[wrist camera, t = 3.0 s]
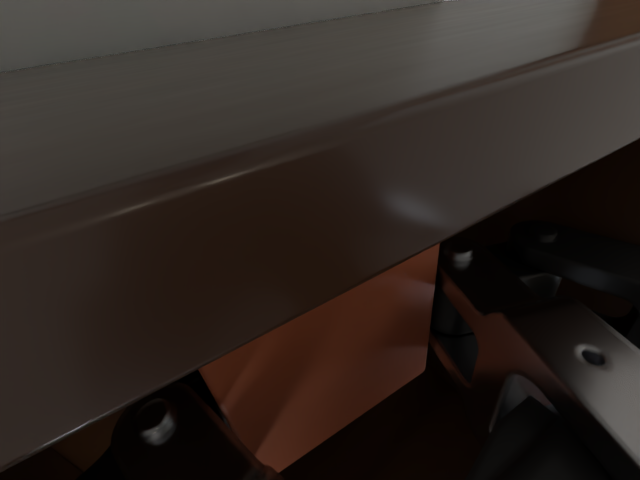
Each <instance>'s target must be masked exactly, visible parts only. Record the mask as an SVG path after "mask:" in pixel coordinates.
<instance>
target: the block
mask: <svg viewBox="0 0 640 480" xmlns="http://www.w3.org/2000/svg"><path fill="white" fill-rule="evenodd" d="M439 247H440V243H439V244H437V245H435V246H433V247H431V248H429V249H428V250H426V251H424V252H422V253H420V254H418V255H416V256H414V257H412V258H410V259H408V260H406V261H405V262H403V263H401V264H399V265H397V266H395V267H393V268H391V269H389V270H387V271H385V272H384V273H382V274H380V275H378V276H376V277H374V278H372V279H370V280H368V281H366V282H364V283H362V284H361V285H359V286H357V287H355V288H353V289H351V290H349V291H347V292H345V293H343V294H341V295H339V296H338V297H336V298H334V299H332V300H330V301H328V302H326V303H324V304H322V305H320V306H318V307H317V308H315V309H313V310H311V311H309V312H307V313H305V314H303V315H301V316H299V317H297V318H295V319H294V320H292V321H290V322H288V323H286V324H284V325H282V326H280V327H278V328H276V329H274V330H272V331H271V332H269V333H267V334H265V335H263V336H261V337H259V338H257V339H255V340H253V341H251V342H250V343H248V344H246V345H244V346H242V347H240V348H238V349H236V350H234V351H232V352H230V353H228V354H227V355H225V356H223V357H221V358H219V359H217V360H215V361H213V362H211V363H209V364H207V365H205V366H204V367H202V368H200V369H198V370H199V372H200V374H201V376H202V378H203V379H204V381H205V383H206V385H207V387H208V388H209V390H210V392H211V394H212V396H213V397H214V399H215V401H216V403H217V405H218V406H219V408H220V410H221V412H222V414H223V416H224V417H225V419H226V421H227V423H228V425H229V426H230V428H231V430H232V432H233V433H234V434H235V435H236V436H237V437H238V438H239V439H240V441H241V442H242V443H243V444H244V445H245V446H246V447H247V448H248V449H249V450H250V451H251V452H252V453H253V455H254V456H255V457H256V458H257V459H258V460H259V461H260V462H262V463H263V464H264V465H269V466H271V467H272V468H273V469H275V470H276V471H277V472H278V473H279V472H281V471H282V470H283V469H285V468H286V467H288V466H289V465H291V464H292V463H293V462H295V461H296V460H298V459H299V458H301V457H302V456H303V455H305V454H306V453H308V452H309V451H311V450H312V449H314V448H315V447H316V446H318V445H319V444H321V443H322V442H324V441H325V440H326V439H328V438H329V437H331V436H332V435H334V434H335V433H336V432H338V431H339V430H341V429H342V428H344V427H345V426H346V425H348V424H349V423H351V422H352V421H354V420H355V419H357V418H358V417H359V416H361V415H362V414H364V413H365V412H367V411H368V410H369V409H371V408H372V407H374V406H375V405H377V404H378V403H379V402H381V401H382V400H384V399H385V398H387V397H388V396H389V395H391V394H392V393H394V392H395V391H397V390H398V389H399V388H401V387H402V386H404V385H405V384H407V383H408V382H410V381H411V380H412V379H414V378H415V377H417V376H418V375H420V374H421V373H422V372H424V370H425V367H426V358H427V349H428V341H429V332H430V324H431V315H432V307H433V298H434V290H435V281H436V272H437V264H438V255H439Z"/></svg>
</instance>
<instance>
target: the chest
mask: <svg viewBox="0 0 640 480" xmlns="http://www.w3.org/2000/svg"><path fill="white" fill-rule="evenodd" d="M528 220H538V221H546V222H550V223H554V224H558V225H562V226H566V227H570V228H573V229H577V230H581V231H585V232H589V233H593V234H596V235H600V236H604V237H608V238H612V239H616V240H620V241H623V242H627V243H631V244H635V245H639V246H640V0H451V1H443V2H437V3H431V4H424V5H418V6H412V7H406V8H400V9H393V10H387V11H381V12H375V13H368V14H362V15H356V16H350V17H343V18H337V19H331V20H325V21H318V22H312V23H306V24H300V25H294V26H287V27H281V28H275V29H269V30H262V31H256V32H250V33H244V34H237V35H231V36H225V37H219V38H212V39H206V40H200V41H194V42H188V43H181V44H175V45H169V46H163V47H156V48H150V49H144V50H138V51H131V52H125V53H119V54H113V55H106V56H100V57H94V58H88V59H82V60H75V61H69V62H63V63H57V64H50V65H44V66H38V67H32V68H25V69H19V70H13V71H7V72H0V480H76V479H77V478H78V477H79V476H80V475H81V474H82V473H84V472H85V471H86V470H87V469H88V468H89V467H90V466H92V465H93V464H94V463H95V462H96V461H97V460H98V459H99V458H100V457H101V456H102V455H103V453H104V452H105V451H106V450H107V449H108V448H109V446H110V445H111V436H112V433H113V429H114V427H115V425H116V422H117V421H118V419H119V417H120V415H121V414H122V413H123V411H124V410H125V409H126V407H127V406H129V405H131V404H133V403H135V402H137V401H138V400H140V399H142V398H144V397H146V396H148V395H150V394H152V393H154V392H156V391H158V390H160V389H161V388H163V387H165V386H167V385H169V384H171V383H173V382H175V381H177V380H179V379H181V378H183V377H184V376H186V375H188V374H190V373H192V372H194V371H196V370H198V369H200V368H202V367H204V366H205V365H207V364H209V363H211V362H213V361H215V360H217V359H219V358H221V357H223V356H225V355H227V354H228V353H230V352H232V351H234V350H236V349H238V348H240V347H242V346H244V345H246V344H248V343H250V342H251V341H253V340H255V339H257V338H259V337H261V336H263V335H265V334H267V333H269V332H271V331H272V330H274V329H276V328H278V327H280V326H282V325H284V324H286V323H288V322H290V321H292V320H294V319H295V318H297V317H299V316H301V315H303V314H305V313H307V312H309V311H311V310H313V309H315V308H317V307H318V306H320V305H322V304H324V303H326V302H328V301H330V300H332V299H334V298H336V297H338V296H339V295H341V294H343V293H345V292H347V291H349V290H351V289H353V288H355V287H357V286H359V285H361V284H362V283H364V282H366V281H368V280H370V279H372V278H374V277H376V276H378V275H380V274H382V273H384V272H385V271H387V270H389V269H391V268H393V267H395V266H397V265H399V264H401V263H403V262H405V261H406V260H408V259H410V258H412V257H414V256H416V255H418V254H420V253H422V252H424V251H426V250H428V249H429V248H431V247H433V246H435V245H437V244H439V243H441V242H443V241H445V240H447V239H449V238H451V237H463V238H468V239H471V240H474V241H476V242H478V243H480V244H482V245H483V246H488V245H492V244H497V243H502V242H506V241H508V237H509V233H510V229H511V227H512V226H513V225H514V224H516V223H518V222H522V221H528ZM558 295H566V296H570V297H573V298H575V299H577V300H579V301H580V302H581V303H583V304H584V305H585V306H587V307H588V308H589V309H591V310H594V311H596V312H599V313H602V314H604V315H607V316H611V317H622V316H625V315H627V314H628V313H629V312H630V310H631V309H632V307H633V304H632V303H630V302H629V301H627V300H625V299H622V298H619V297H616V296H613V295H610V294H608V293H605V292H602V291H599V290H596V289H593V288H590V287H587V286H584V285H581V284H578V283H575V282H573V281H570V280H567V279H564V278H562V279H561V282H560V284H559V287H558V289H557V292H556V294H555V296H558ZM230 430H231V428H230ZM231 431H232V430H231ZM481 449H482V448H481V446H480V444H479V443H478V441H477V439H476V437H475V436H474V434H473V432H472V430H471V428H470V426H469V423H468V421H467V418H466V415H465V411H464V405H463V401H462V398H461V395H460V393H459V391H458V389H457V387H456V386H455V384H454V382H453V381H452V379H451V378H450V376H449V374H448V373H447V371H446V369H445V368H444V366H443V364H442V363H441V361H440V359H439V358H438V356H437V354H436V353H435V351H434V350H433V348H432V346H431V345H430V343H429V341H428V349H427V358H426V367H425V370H424V372H422V373H421V374H420V375H418V376H417V377H415V378H414V379H412V380H411V381H410V382H408V383H407V384H405V385H404V386H402V387H401V388H399V389H398V390H397V391H395V392H394V393H392V394H391V395H389V396H388V397H387V398H385V399H384V400H382V401H381V402H379V403H378V404H377V405H375V406H374V407H372V408H371V409H369V410H368V411H367V412H365V413H364V414H362V415H361V416H359V417H358V418H357V419H355V420H354V421H352V422H351V423H349V424H348V425H346V426H345V427H344V428H342V429H341V430H339V431H338V432H336V433H335V434H334V435H332V436H331V437H329V438H328V439H326V440H325V441H324V442H322V443H321V444H319V445H318V446H316V447H315V448H314V449H312V450H311V451H309V452H308V453H306V454H305V455H303V456H302V457H301V458H299V459H298V460H296V461H295V462H293V463H292V464H291V465H289V466H288V467H286V468H285V469H283V470H282V471H281V472H279V474H280V475H281V476H282V477H283V478H284V479H285V480H464V479H465V478H466V477H467V475H468V474H469V472H470V470H471V468H472V467H473V465H474V463H475V461H476V459H477V457H478V455H479V453H480V451H481Z"/></svg>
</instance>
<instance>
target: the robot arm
mask: <svg viewBox="0 0 640 480" xmlns="http://www.w3.org/2000/svg"><path fill="white" fill-rule="evenodd" d="M562 278H564V279H567V280H570V281H573V282H575V283H578V284H581V285H584V286H587V287H590V288H593V289H596V290H599V291H602V292H605V293H608V294H610V295H613V296H616V297H619V298H622V299H625V300H627V301H629V302H630V303H632V304H633V307H632V309H631V310H630V312H629V313H628V314H627V315H625V316H622V317H611V316H607V315H604V314H602V313H599V312H596V311H594V310H591V309H589V308H588V307H587V306H585V305H584V304H583V303H581V302H580V301H579V300H577V299H575V298H573V297H570V296H566V295H558V296H555V294H556V292H557V289H558V287H559V284H560V282H561V279H562ZM429 343H430V345H431V346H432V348H433V350H434V351H435V353H436V354H437V356H438V358H439V359H440V361H441V363H442V364H443V366H444V368H445V369H446V371H447V373H448V374H449V376H450V378H451V379H452V381H453V382H454V384H455V386H456V387H457V389H458V391H459V393H460V395H461V398H462V401H463V405H464V411H465V415H466V418H467V421H468V423H469V426H470V428H471V430H472V432H473V434H474V436H475V437H476V439H477V441H478V443H479V444H480V446H481V448H482V449H481V451H480V453H479V455H478V457H477V459H476V461H475V463H474V465H473V467H472V468H471V470H470V472H469V474H468V475H467V477H466V478H465V479H464V480H640V246H639V245H635V244H631V243H627V242H623V241H620V240H616V239H612V238H608V237H604V236H600V235H596V234H593V233H589V232H585V231H581V230H577V229H573V228H570V227H566V226H562V225H558V224H554V223H550V222H546V221H538V220H528V221H522V222H518V223H516V224H514V225H513V226H512V227H511V229H510V233H509V237H508V241H506V242H502V243H497V244H492V245H488V246H483V245H482V244H480V243H478V242H476V241H474V240H471V239H468V238H463V237H451V238H449V239H447V240H445V241H443V242H441V243H440V247H439V255H438V264H437V272H436V281H435V290H434V298H433V307H432V315H431V324H430V332H429ZM76 480H285V479H284V478H283V477H282V476H281V475H280V474H279V473H278V472H277V471H276V470H275V469H273V468H272V467H271V466H269V465H264V464H263V463H262V462H260V461H259V460H258V459H257V458H256V457H255V456H254V455H253V453H252V452H251V451H250V450H249V449H248V448H247V447H246V446H245V445H244V444H243V443H242V442H241V441H240V439H239V438H238V437H237V436H236V435H235V434H234V433H233V432H232V431H231V430H230V426H229V425H228V423H227V421H226V419H225V417H224V416H223V414H222V412H221V410H220V408H219V406H218V405H217V403H216V401H215V399H214V397H213V396H212V394H211V392H210V390H209V388H208V387H207V385H206V383H205V381H204V379H203V378H202V376H201V374H200V372H199V370H196V371H194V372H192V373H190V374H188V375H186V376H184V377H183V378H181V379H179V380H177V381H175V382H173V383H171V384H169V385H167V386H165V387H163V388H161V389H160V390H158V391H156V392H154V393H152V394H150V395H148V396H146V397H144V398H142V399H140V400H138V401H137V402H135V403H133V404H131V405H129V406H127V407H126V409H125V410H124V411H123V413H122V414H121V415H120V417H119V419H118V421H117V422H116V425H115V427H114V429H113V433H112V436H111V445H110V446H109V448H108V449H107V450H106V451H105V452H104V453H103V455H102V456H101V457H100V458H99V459H98V460H97V461H96V462H95V463H94V464H93V465H92V466H90V467H89V468H88V469H87V470H86V471H85V472H84V473H82V474H81V475H80V476H79V477H78V478H77V479H76Z"/></svg>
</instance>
